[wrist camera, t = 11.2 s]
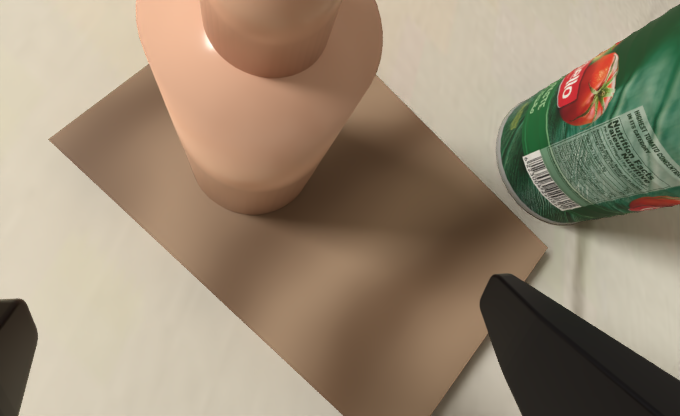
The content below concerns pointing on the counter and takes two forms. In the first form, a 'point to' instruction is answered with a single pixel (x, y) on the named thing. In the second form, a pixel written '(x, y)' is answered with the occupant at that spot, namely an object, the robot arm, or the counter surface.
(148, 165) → the walnut board
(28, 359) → the robot arm
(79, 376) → the counter surface
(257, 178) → the pink bottle
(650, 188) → the canned tomato
